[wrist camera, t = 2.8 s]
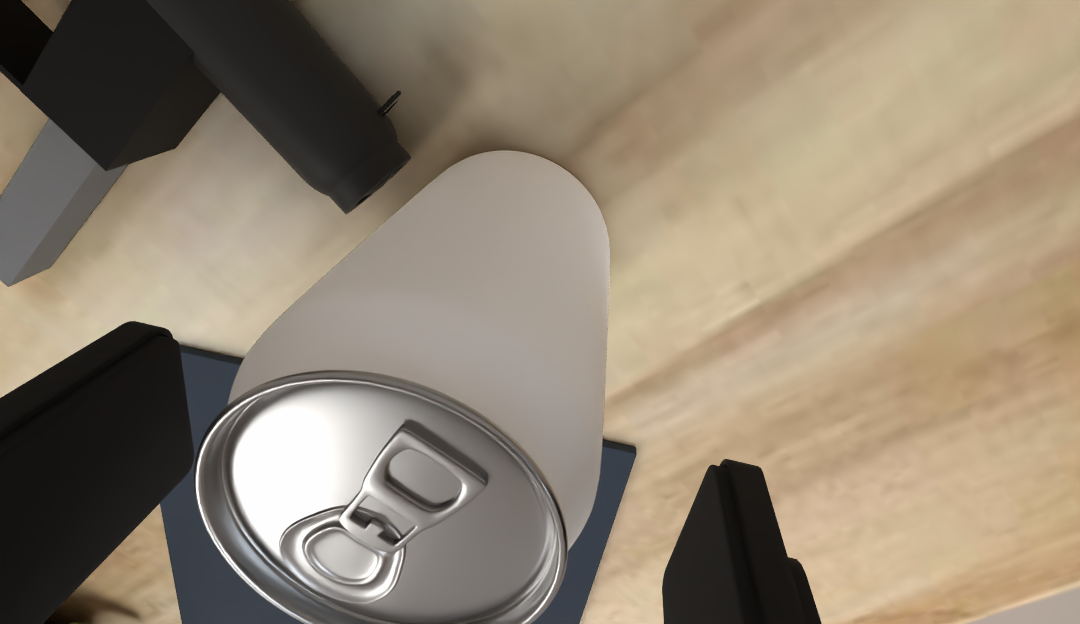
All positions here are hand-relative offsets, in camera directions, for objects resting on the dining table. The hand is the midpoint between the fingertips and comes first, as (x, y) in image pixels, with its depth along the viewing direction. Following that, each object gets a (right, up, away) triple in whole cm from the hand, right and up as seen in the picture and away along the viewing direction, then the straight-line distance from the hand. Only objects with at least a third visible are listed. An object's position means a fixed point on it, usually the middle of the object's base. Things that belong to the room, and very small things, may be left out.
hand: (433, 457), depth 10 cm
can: (+1, +5, +9) cm, 10 cm away
